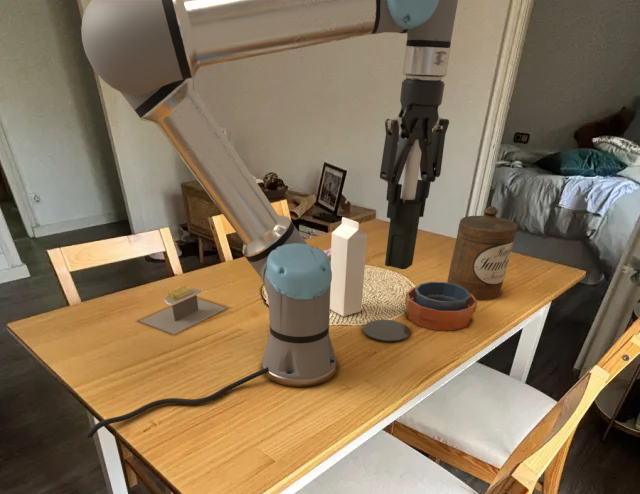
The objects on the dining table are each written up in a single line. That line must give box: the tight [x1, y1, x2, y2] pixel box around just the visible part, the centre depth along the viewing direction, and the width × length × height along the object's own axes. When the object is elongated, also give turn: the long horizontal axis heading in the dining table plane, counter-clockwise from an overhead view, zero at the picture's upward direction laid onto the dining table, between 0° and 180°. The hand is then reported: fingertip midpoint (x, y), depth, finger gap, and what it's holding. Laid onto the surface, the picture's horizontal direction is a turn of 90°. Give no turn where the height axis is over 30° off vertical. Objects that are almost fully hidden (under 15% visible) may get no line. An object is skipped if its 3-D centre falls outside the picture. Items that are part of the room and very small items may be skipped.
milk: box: [330, 216, 368, 318], centre depth 116 cm, size 6×6×22 cm
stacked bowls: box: [404, 281, 478, 331], centre depth 119 cm, size 17×17×6 cm
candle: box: [384, 139, 422, 270], centre depth 97 cm, size 5×5×25 cm
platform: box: [139, 284, 227, 335], centre depth 116 cm, size 12×18×7 cm, turn 147°
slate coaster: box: [362, 319, 411, 344], centre depth 113 cm, size 11×11×1 cm
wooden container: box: [446, 205, 518, 301], centre depth 129 cm, size 15×15×22 cm
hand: (405, 216), depth 99 cm, fingers closed on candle, 6 cm apart
